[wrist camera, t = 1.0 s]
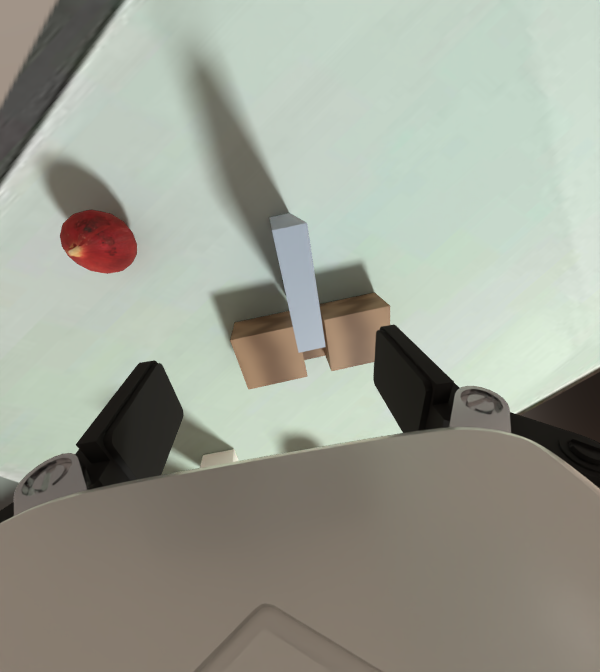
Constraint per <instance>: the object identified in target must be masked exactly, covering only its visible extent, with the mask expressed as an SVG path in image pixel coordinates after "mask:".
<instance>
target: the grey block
mask: <svg viewBox="0 0 600 672" xmlns="http://www.w3.org/2000/svg"><path fill="white" fill-rule="evenodd" d="M269 219H270V223H271V228H272V233H273V237H274V242H275V247H276V251H277V256H278V260H279V265H280V270H281V274H282V279H283V283H284V288H285V293H286V297H287V302H288V306H289V311H290V316H291V320H292V325H293V329H294V334H295V339H296V343H297V348H298V352H299V353H300V352H305V351H310V350H314V349H319V348H323V347H326V346H325V339H324V333H323V326H322V319H321V313H320V306H319V299H318V293H317V286H316V279H315V273H314V266H313V259H312V253H311V246H310V239H309V233H308V226H307V223H306V222H304V221H303V220H301V219H299V218H297V217H296V216H294V215H292V214H290V213H287V214H282V215H277V216H272V217H269Z"/></svg>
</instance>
